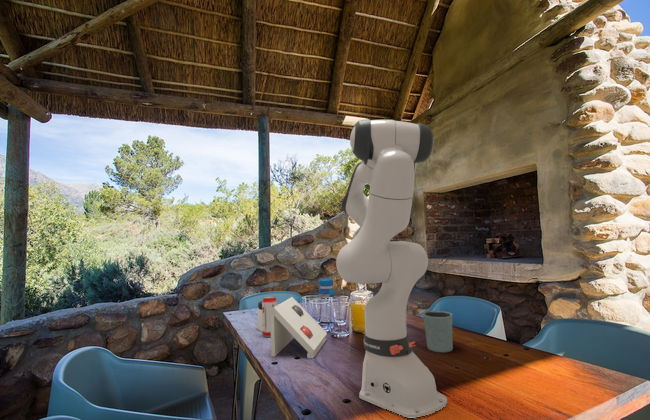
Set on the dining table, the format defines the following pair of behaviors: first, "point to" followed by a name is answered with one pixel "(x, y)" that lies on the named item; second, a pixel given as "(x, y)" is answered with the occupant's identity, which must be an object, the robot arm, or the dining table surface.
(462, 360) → the dining table surface
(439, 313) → the grey green cup
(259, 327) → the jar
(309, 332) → the red button
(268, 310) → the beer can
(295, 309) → the charcoal button
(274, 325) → the console
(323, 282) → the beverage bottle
